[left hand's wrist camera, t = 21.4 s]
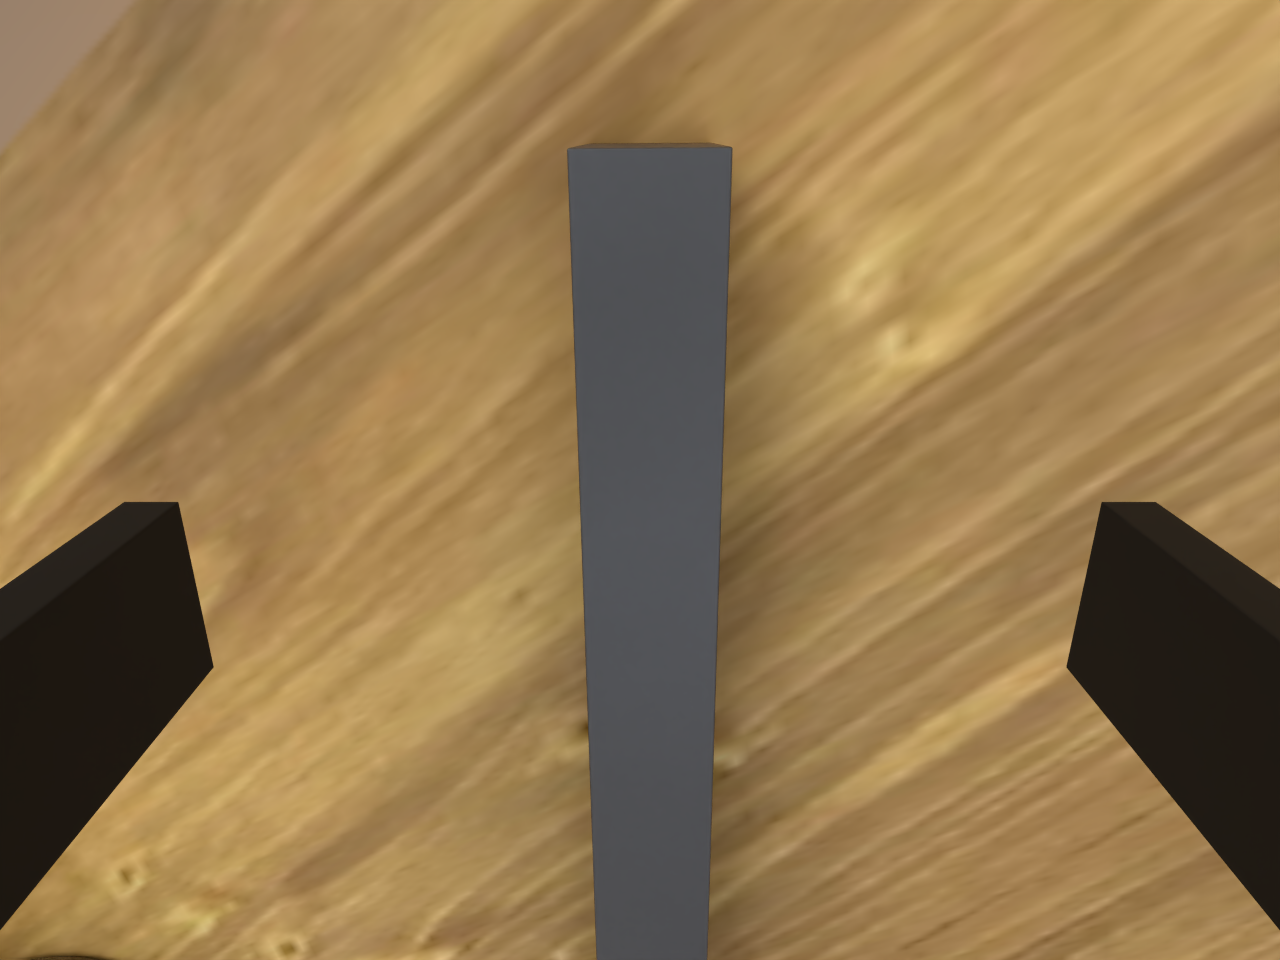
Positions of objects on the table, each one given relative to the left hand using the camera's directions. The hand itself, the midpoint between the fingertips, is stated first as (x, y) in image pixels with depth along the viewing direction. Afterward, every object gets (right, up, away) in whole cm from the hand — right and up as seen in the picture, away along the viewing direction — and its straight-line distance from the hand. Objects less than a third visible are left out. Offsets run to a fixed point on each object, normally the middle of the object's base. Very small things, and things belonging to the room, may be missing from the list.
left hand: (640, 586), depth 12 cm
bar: (+1, -23, +34) cm, 41 cm away
